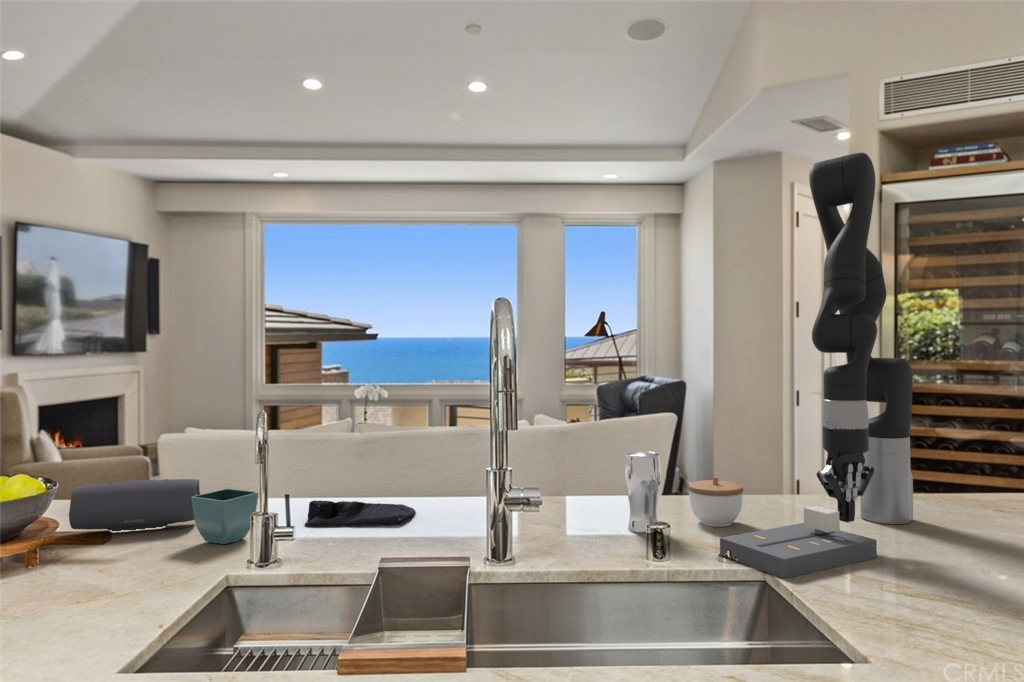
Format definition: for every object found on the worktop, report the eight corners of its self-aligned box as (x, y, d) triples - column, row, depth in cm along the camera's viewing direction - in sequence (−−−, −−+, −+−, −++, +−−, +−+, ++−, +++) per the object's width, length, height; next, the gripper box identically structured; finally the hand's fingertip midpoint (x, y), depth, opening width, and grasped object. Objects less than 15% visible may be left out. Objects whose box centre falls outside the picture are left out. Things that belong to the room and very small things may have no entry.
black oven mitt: (402, 531, 144) (401, 507, 144) (297, 529, 147) (297, 505, 147) (420, 513, 159) (420, 491, 159) (325, 511, 162) (325, 490, 162)
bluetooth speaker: (201, 519, 154) (200, 473, 154) (196, 530, 145) (195, 481, 145) (81, 529, 147) (80, 480, 147) (68, 541, 138) (67, 489, 138)
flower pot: (260, 537, 139) (259, 491, 139) (224, 549, 131) (224, 500, 131) (226, 532, 143) (226, 488, 143) (190, 544, 135) (189, 496, 135)
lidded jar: (685, 527, 143) (684, 480, 143) (692, 514, 153) (692, 471, 153) (741, 532, 139) (740, 483, 139) (745, 519, 149) (744, 474, 149)
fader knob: (815, 528, 128) (815, 505, 128) (839, 534, 124) (839, 511, 124) (803, 530, 127) (803, 507, 127) (827, 537, 122) (827, 513, 122)
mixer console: (808, 538, 134) (808, 521, 134) (876, 557, 121) (876, 539, 121) (720, 555, 124) (719, 537, 124) (784, 578, 111) (784, 558, 111)
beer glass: (661, 535, 137) (660, 457, 137) (625, 533, 138) (624, 456, 138) (661, 526, 144) (660, 451, 144) (626, 524, 145) (625, 450, 145)
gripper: (851, 420, 135) (852, 512, 135) (802, 424, 129) (803, 521, 129) (888, 424, 128) (889, 521, 128) (838, 429, 122) (839, 530, 122)
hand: (846, 521), depth 128 cm, fingers closed
